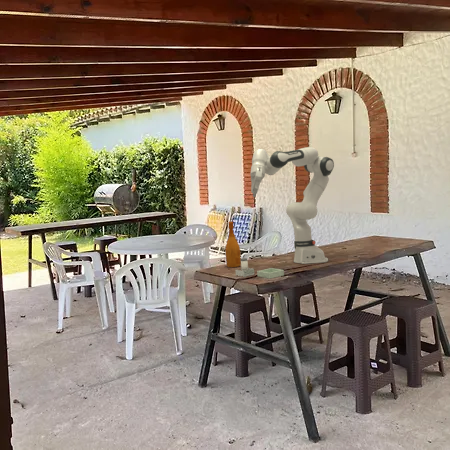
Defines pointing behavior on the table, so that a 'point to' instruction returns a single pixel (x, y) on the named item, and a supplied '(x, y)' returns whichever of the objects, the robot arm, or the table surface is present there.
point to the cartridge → (244, 264)
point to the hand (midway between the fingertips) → (255, 192)
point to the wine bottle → (232, 249)
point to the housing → (245, 272)
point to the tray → (270, 273)
